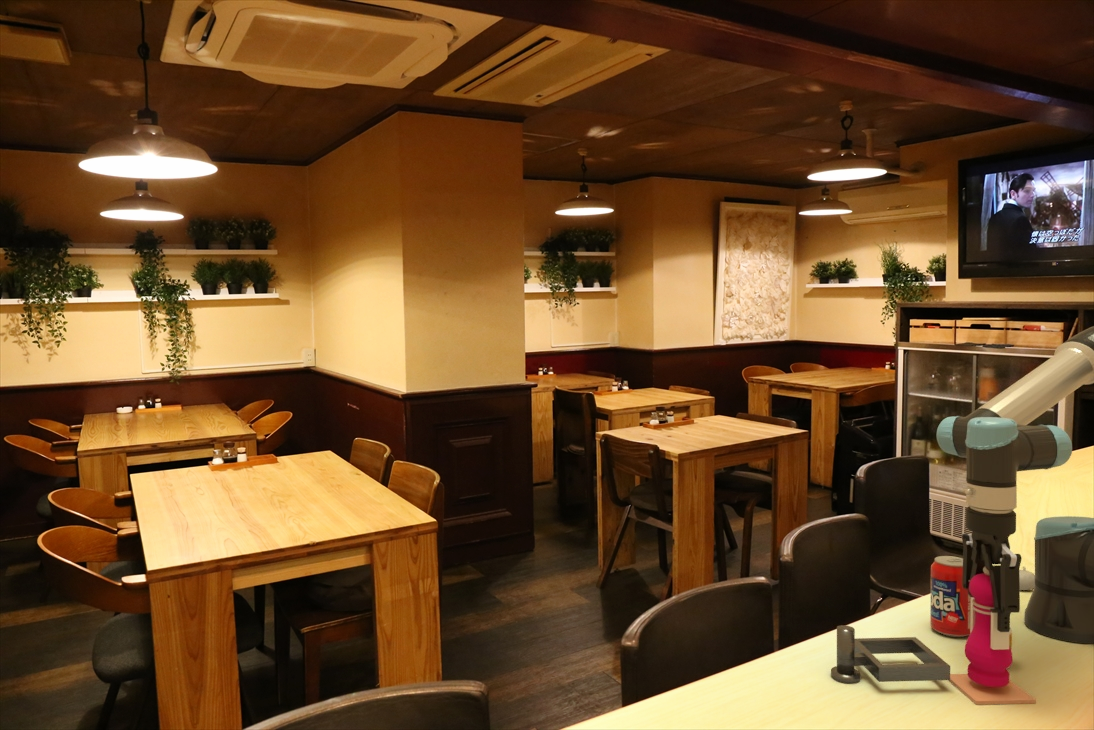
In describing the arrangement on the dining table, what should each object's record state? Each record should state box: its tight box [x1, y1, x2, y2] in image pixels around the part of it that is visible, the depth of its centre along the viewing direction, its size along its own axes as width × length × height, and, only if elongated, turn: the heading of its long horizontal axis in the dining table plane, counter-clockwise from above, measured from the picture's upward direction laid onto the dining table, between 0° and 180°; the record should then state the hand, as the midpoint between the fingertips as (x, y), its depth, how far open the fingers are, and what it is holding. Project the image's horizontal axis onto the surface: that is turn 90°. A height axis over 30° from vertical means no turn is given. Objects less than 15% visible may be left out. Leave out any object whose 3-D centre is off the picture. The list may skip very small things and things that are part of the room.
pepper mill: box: [964, 567, 1013, 687], centre depth 134 cm, size 7×7×20 cm
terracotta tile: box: [947, 673, 1037, 706], centre depth 134 cm, size 10×10×1 cm
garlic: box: [1019, 566, 1035, 591], centre depth 184 cm, size 6×5×5 cm
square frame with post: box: [830, 624, 951, 685], centre depth 140 cm, size 18×12×9 cm
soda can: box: [929, 555, 970, 638], centre depth 159 cm, size 8×8×15 cm
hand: (989, 640), depth 134 cm, fingers closed on pepper mill, 5 cm apart
